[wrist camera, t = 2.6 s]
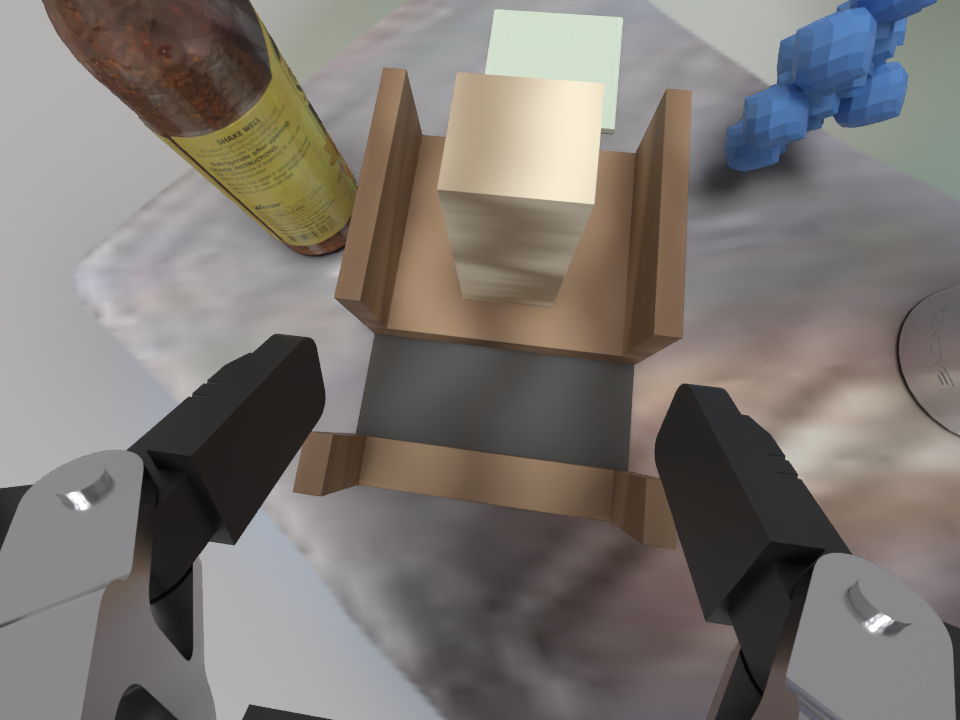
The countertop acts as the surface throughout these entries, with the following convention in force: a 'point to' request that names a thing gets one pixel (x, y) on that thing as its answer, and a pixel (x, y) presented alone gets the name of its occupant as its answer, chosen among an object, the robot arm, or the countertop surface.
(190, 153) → the sauce bottle
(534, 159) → the block
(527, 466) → the wooden holder
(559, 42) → the mat
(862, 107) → the grapes
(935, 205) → the countertop surface
